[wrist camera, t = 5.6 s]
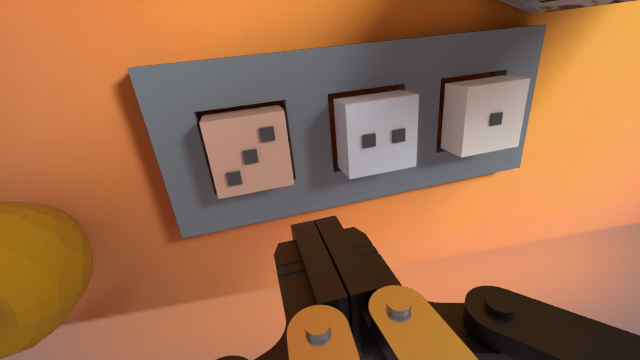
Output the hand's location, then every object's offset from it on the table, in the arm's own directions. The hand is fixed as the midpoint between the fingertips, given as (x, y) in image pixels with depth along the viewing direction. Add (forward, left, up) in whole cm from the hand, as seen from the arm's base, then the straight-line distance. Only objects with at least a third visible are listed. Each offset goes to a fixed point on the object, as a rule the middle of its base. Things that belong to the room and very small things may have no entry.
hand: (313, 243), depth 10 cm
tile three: (+2, 0, -14) cm, 14 cm away
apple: (+17, +4, -15) cm, 23 cm away
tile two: (-7, 0, -13) cm, 15 cm away
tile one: (-16, 0, -13) cm, 21 cm away
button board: (-7, 0, -15) cm, 16 cm away
